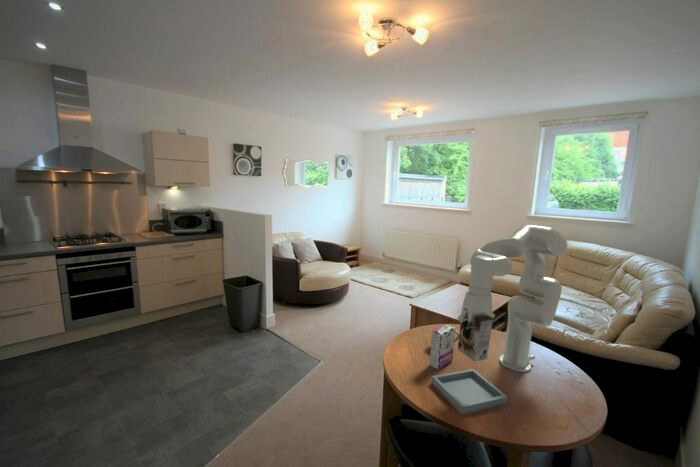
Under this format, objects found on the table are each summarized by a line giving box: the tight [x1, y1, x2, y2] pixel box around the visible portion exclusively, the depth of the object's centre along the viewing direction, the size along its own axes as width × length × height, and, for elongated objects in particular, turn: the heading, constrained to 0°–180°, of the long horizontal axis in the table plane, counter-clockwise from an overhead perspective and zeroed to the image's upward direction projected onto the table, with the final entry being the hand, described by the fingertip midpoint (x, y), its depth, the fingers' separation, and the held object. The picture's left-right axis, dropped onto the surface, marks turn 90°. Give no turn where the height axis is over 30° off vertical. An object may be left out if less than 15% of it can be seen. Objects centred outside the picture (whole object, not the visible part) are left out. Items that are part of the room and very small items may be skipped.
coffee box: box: [457, 316, 494, 363], centre depth 115 cm, size 9×6×16 cm
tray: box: [431, 368, 509, 416], centre depth 118 cm, size 20×18×3 cm
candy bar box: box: [429, 323, 456, 371], centre depth 136 cm, size 11×5×16 cm, turn 131°
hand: (474, 336), depth 115 cm, fingers closed on coffee box, 6 cm apart
